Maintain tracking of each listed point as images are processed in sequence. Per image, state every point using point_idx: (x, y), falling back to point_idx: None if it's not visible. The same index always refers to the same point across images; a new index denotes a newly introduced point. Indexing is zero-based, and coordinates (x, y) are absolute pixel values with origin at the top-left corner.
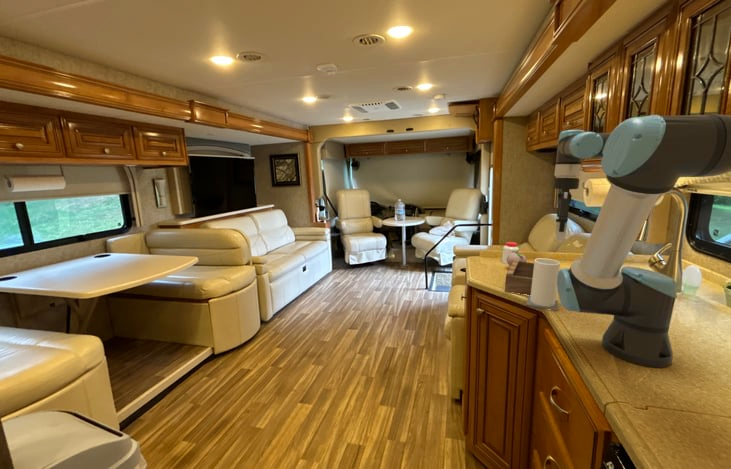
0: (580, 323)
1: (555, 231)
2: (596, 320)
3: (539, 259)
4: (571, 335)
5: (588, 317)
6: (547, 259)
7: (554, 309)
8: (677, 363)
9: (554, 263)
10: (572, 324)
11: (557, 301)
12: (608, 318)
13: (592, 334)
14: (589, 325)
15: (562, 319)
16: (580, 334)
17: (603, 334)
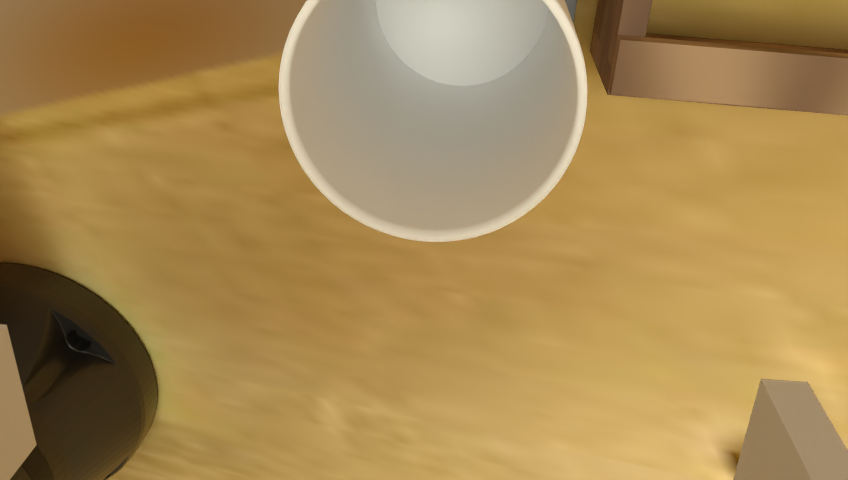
0: (229, 207)
1: (786, 433)
2: (330, 294)
3: (551, 8)
4: (22, 140)
5: (354, 262)
6: (575, 114)
7: None
8: None
9: (531, 181)
10: (185, 163)
11: None
12: (398, 356)
13: (111, 242)
14: (229, 248)
15: (230, 115)
16: (69, 186)
17: (21, 291)
